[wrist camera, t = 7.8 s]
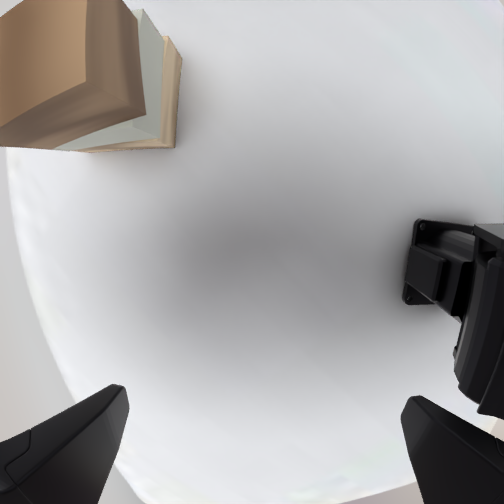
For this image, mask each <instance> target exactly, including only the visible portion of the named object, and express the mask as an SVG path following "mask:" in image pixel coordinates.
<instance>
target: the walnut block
mask: <svg viewBox="0 0 504 504" xmlns="http://www.w3.org/2000/svg"><path fill="white" fill-rule="evenodd" d="M144 115H146V107H145V99H144V90H143V82H142V72H141V61H140V50H139V37H138V21H137V18H136V17H135V16H134V15H133V13H132V12H131V11H130V9H129V8H128V7H127V6H126V4H125V3H124V2H123V1H122V0H23V1H22V2H21V3H19V4H18V5H16V6H15V7H14V8H12V9H11V10H9V11H8V12H7V13H5V14H4V15H3V16H2V17H0V146H2V147H22V148H37V149H50V150H51V149H54V148H56V147H58V146H61V145H63V144H65V143H68V142H70V141H73V140H75V139H78V138H80V137H83V136H85V135H88V134H91V133H93V132H96V131H99V130H101V129H104V128H107V127H110V126H113V125H116V124H119V123H122V122H125V121H128V120H131V119H134V118H138V117H141V116H144Z"/></svg>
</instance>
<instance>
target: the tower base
mask: <svg viewBox="0 0 504 504" xmlns="http://www.w3.org/2000/svg"><path fill="white" fill-rule="evenodd" d="M162 38H163V39H164V41H165V43H164V55H163V70H162V89H161V119H160V138H156V139H147V140H138V141H130V142H122V143H115V144H108V145H102V146H95V147H89V148H84V149H78V150H73V151H78V152H87V153H94V152H105V151H118V150H133V149H153V148H175V138H176V121H177V107H178V95H179V84H180V74H181V64H182V58H181V56H180V54H179V53H178V51H177V49H176V48H175V46H174V44H173V43H172V41H171V39H170V38H169V36H162Z"/></svg>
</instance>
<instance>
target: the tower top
mask: <svg viewBox="0 0 504 504" xmlns="http://www.w3.org/2000/svg"><path fill="white" fill-rule="evenodd" d="M131 12H132V13H133V15H134V16H135V17H136V18H137V21H138V37H139V50H140V61H141V72H142V82H143V90H144V99H145V107H146V115H144V116H141V117H138V118H134V119H131V120H128V121H125V122H122V123H119V124H116V125H113V126H110V127H107V128H104V129H101V130H99V131H96V132H93V133H91V134H88V135H85V136H83V137H80V138H78V139H75V140H73V141H70V142H68V143H65V144H63V145H61V146H58V147H56V148H54V149H51V150H60V151H73V150H78V149H84V148H89V147H95V146H102V145H108V144H115V143H122V142H130V141H138V140H147V139H156V138H160V119H161V89H162V70H163V55H164V43H165V41H164V39H163V38H162V36H161V35H160V33H159V32H158V30H157V29H156V27H155V26H154V24H153V23H152V21H151V20H150V18H149V17H148V15H147V14H146V12H145V11H144V9H139V10H134V11H131ZM36 149H37V148H36ZM49 150H50V149H49Z"/></svg>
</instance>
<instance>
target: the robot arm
mask: <svg viewBox="0 0 504 504" xmlns="http://www.w3.org/2000/svg"><path fill="white" fill-rule="evenodd" d="M421 224H423V227H422V228H421V229H420V225H421ZM472 230H473V233H472ZM405 281H406V282H405V287H404V292H403V297H402V300H403V302H405V303H406V304H407V305H425V304H436V305H438V306H439V307H440V308H442V309H443V310H444V311H445V312H447V313H448V314H449V315H451V316H452V317H454V318H455V319H456V320H457V321H459V322H460V323H461V324H462V325H461V329H460V333H459V337H458V341H457V345H456V346H455V347H454V351H453V356H454V359H455V361H454V372H455V375H456V377H457V380H458V381H459V385H458V388H459V390H460V391H461V392H462V393H463V394H464V395H465V396H466V397H467V398H469V399H470V400H472V401H473V402H475V403H477V404H479V407H478V409H477V413H478V414H482V415H489V416H494V417H497V418H500V419H503V420H504V224H474V226H470V225H463V224H456V223H448V222H441V221H433V220H425V219H418V220H417V221H416V222H415V226H414V234H413V241H412V247H411V248H410V253H409V259H408V265H407V271H406V276H405ZM409 296H411V297H410V299H409V300H407V299H408V297H409ZM128 413H129V402H128V397H127V392H126V389H125V387H124V386H121V385H116V384H111V385H109V386H107V387H106V388H104V389H102V390H100V391H99V392H97V393H95V394H93V395H92V396H90V397H88V398H86V399H84V400H83V401H81V402H79V403H77V404H75V405H74V406H72V407H70V408H68V409H66V410H65V411H63V412H61V413H59V414H57V415H55V416H53V417H52V418H50V419H48V420H46V421H44V422H42V423H40V424H38V425H36V426H34V427H33V428H31V430H30V429H29V430H26V431H25V432H23V433H21V434H18V435H16V436H14V437H12V438H10V439H8V440H5V441H3V442H0V504H98V501H99V499H100V496H101V493H102V490H103V488H104V485H105V483H106V480H107V478H108V475H109V473H110V470H111V468H112V465H113V463H114V460H115V458H116V455H117V453H118V450H119V446H120V443H121V439H122V435H123V432H124V428H125V424H126V420H127V417H128ZM401 424H402V428H403V432H404V437H405V441H406V446H407V450H408V454H409V458H410V461H411V464H412V467H413V470H414V473H415V476H416V479H417V482H418V485H419V488H420V492H421V495H422V498H423V502H424V504H504V441H502V440H500V439H498V438H495V437H494V436H492V435H491V434H489V433H487V432H485V431H483V430H481V429H480V428H478V427H476V426H474V425H472V424H470V423H469V422H467V421H465V420H463V419H461V418H460V417H458V416H456V415H454V414H453V413H451V412H449V411H447V410H445V409H444V408H442V407H440V406H438V405H437V404H435V403H433V402H432V401H430V400H428V399H426V398H425V397H423V396H421V395H418V396H412V397H410V398H409V399H408V401H407V403H406V405H405V407H404V409H403V412H402V414H401Z"/></svg>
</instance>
